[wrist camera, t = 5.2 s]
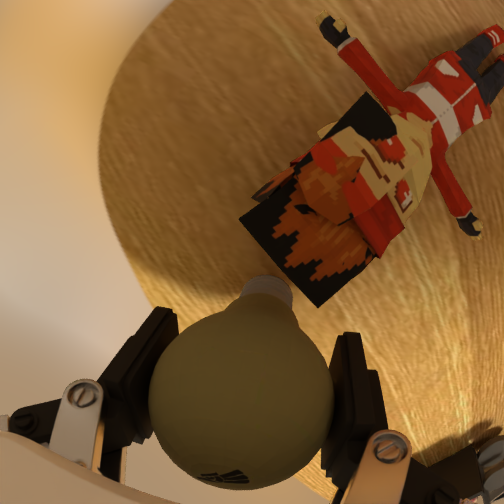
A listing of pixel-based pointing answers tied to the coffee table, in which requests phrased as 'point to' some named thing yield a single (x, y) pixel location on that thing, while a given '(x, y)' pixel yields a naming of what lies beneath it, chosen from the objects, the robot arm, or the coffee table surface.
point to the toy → (374, 165)
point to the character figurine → (474, 470)
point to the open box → (497, 493)
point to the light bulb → (243, 393)
